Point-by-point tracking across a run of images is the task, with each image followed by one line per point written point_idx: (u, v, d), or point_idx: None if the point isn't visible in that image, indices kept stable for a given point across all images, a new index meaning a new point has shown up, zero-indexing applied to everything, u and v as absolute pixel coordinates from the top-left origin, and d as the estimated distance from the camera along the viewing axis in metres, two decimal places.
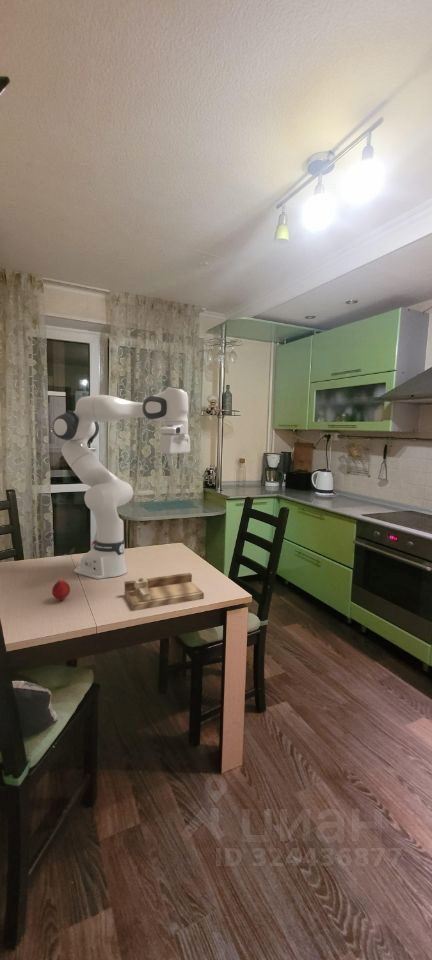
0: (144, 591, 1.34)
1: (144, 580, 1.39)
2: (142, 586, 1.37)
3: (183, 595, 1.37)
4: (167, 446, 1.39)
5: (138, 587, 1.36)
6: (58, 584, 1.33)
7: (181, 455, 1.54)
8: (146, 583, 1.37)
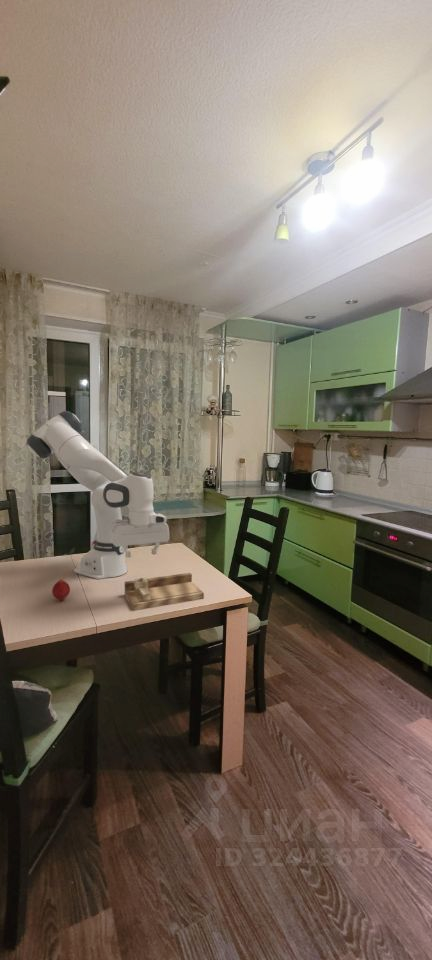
0: (144, 591, 1.34)
1: (144, 580, 1.39)
2: (142, 586, 1.37)
3: (183, 595, 1.37)
4: None
5: (138, 587, 1.36)
6: (58, 584, 1.33)
7: None
8: (146, 583, 1.37)
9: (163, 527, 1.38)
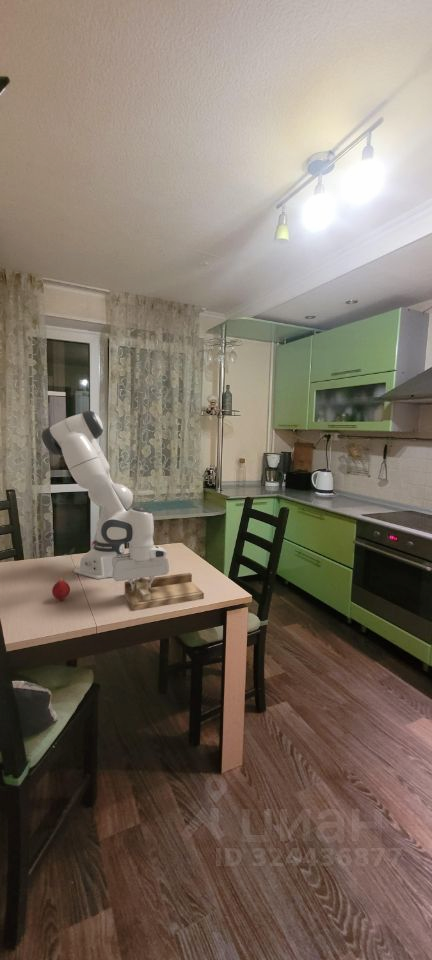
0: (144, 591, 1.34)
1: (144, 580, 1.39)
2: (142, 586, 1.37)
3: (183, 595, 1.37)
4: None
5: (138, 587, 1.36)
6: (58, 584, 1.33)
7: None
8: (146, 583, 1.37)
9: (163, 561, 1.39)
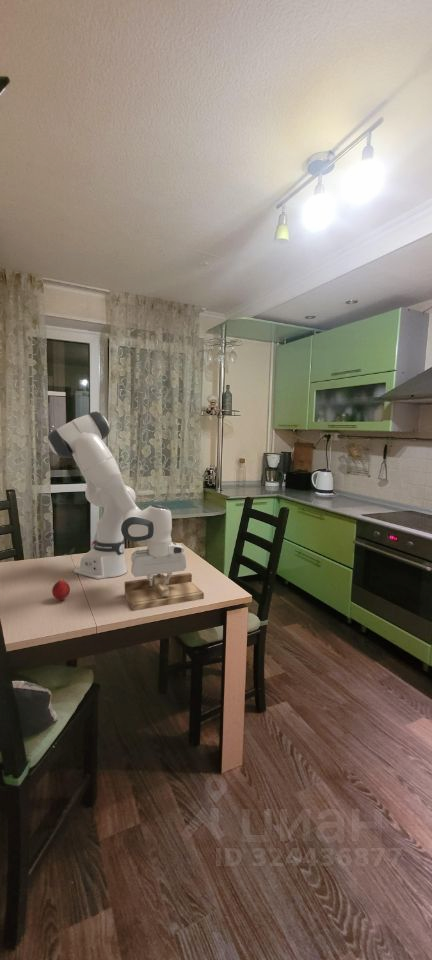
0: (162, 586, 1.36)
1: (162, 576, 1.41)
2: (160, 582, 1.40)
3: (183, 595, 1.37)
4: None
5: (156, 583, 1.39)
6: (58, 584, 1.33)
7: None
8: (164, 579, 1.40)
9: (180, 557, 1.42)
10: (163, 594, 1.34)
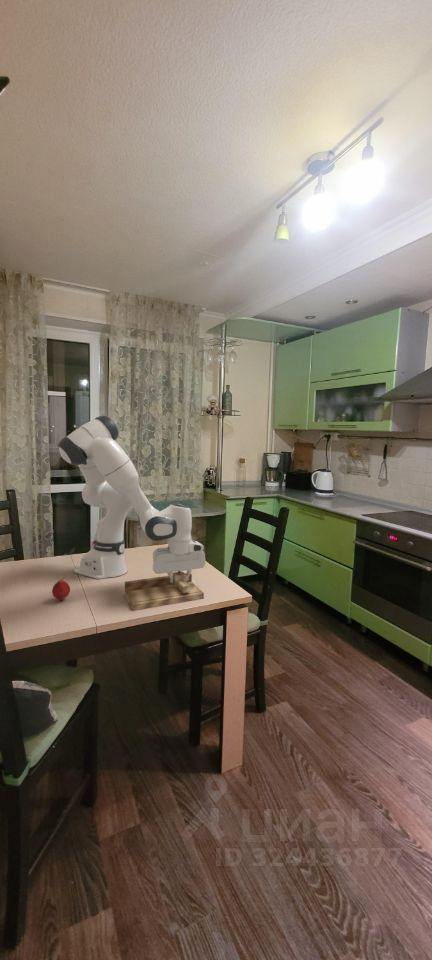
0: (183, 583, 1.40)
1: (182, 573, 1.45)
2: (181, 579, 1.43)
3: (183, 595, 1.37)
4: None
5: (177, 580, 1.42)
6: (58, 584, 1.33)
7: None
8: (184, 576, 1.44)
9: (200, 555, 1.45)
10: (184, 591, 1.38)
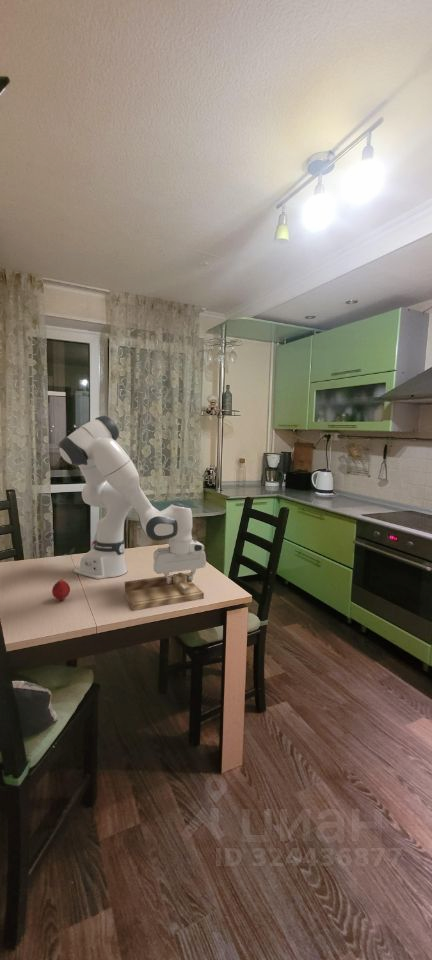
0: (184, 585, 1.40)
1: (183, 575, 1.45)
2: (181, 580, 1.43)
3: (183, 595, 1.37)
4: None
5: (177, 581, 1.43)
6: (58, 584, 1.33)
7: None
8: (185, 577, 1.44)
9: (200, 555, 1.46)
10: (185, 592, 1.38)
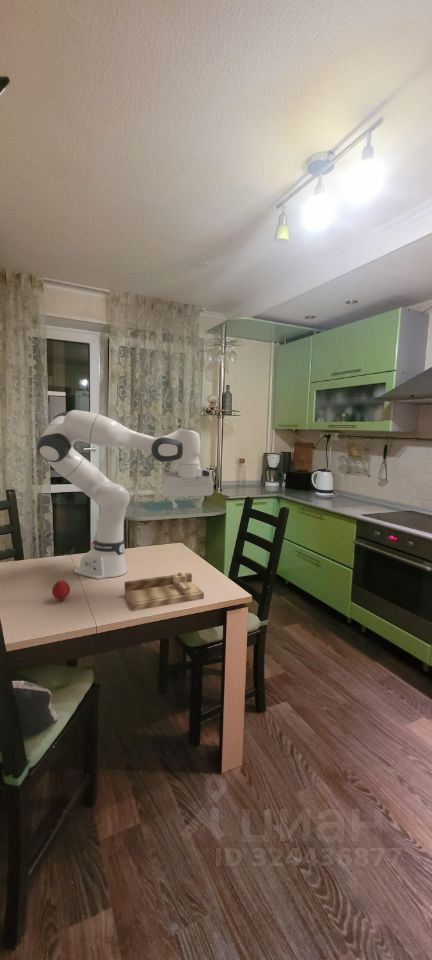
0: (184, 585, 1.40)
1: (183, 575, 1.45)
2: (181, 580, 1.43)
3: (183, 595, 1.37)
4: None
5: (177, 581, 1.43)
6: (58, 584, 1.33)
7: None
8: (185, 577, 1.44)
9: (208, 481, 1.45)
10: (185, 592, 1.38)
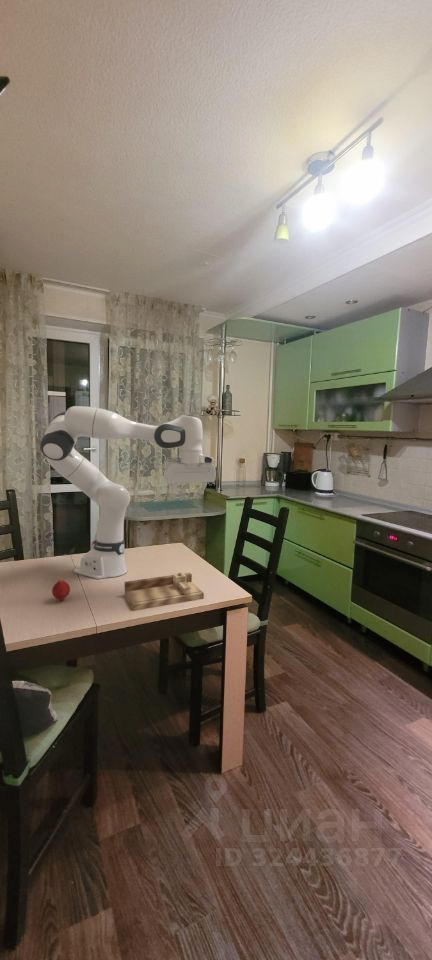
0: (184, 585, 1.40)
1: (183, 575, 1.45)
2: (181, 580, 1.43)
3: (183, 595, 1.37)
4: None
5: (177, 581, 1.43)
6: (58, 584, 1.33)
7: None
8: (185, 577, 1.44)
9: (210, 468, 1.46)
10: (185, 592, 1.38)
